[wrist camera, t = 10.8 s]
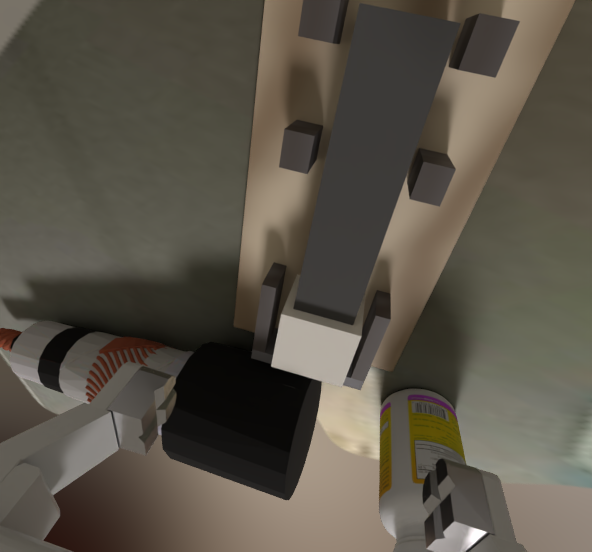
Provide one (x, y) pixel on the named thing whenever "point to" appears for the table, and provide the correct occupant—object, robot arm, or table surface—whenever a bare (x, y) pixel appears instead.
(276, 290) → the clip board
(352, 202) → the bar
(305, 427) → the cable
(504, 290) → the table surface
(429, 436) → the supplement bottle
